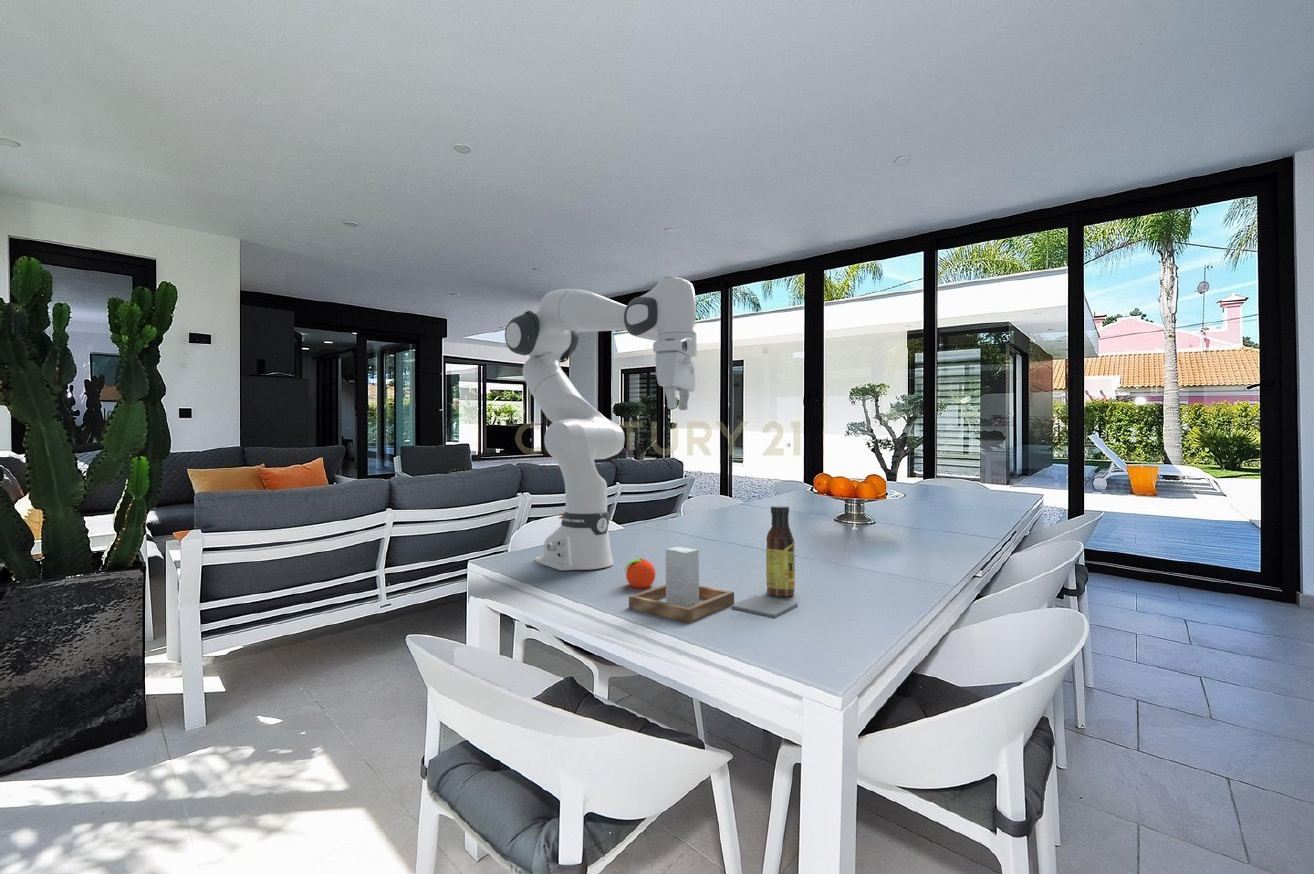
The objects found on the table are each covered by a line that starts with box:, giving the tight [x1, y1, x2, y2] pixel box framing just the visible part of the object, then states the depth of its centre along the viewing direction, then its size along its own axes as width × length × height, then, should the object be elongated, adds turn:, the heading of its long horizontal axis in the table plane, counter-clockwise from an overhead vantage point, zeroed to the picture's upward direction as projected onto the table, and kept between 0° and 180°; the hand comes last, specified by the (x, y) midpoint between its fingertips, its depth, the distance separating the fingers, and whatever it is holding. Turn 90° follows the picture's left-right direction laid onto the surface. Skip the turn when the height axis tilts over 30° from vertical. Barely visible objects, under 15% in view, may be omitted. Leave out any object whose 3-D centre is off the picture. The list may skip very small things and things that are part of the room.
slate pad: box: [730, 594, 798, 619], centre depth 123 cm, size 10×10×1 cm
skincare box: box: [665, 546, 700, 607], centre depth 124 cm, size 6×4×12 cm
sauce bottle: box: [765, 505, 796, 598], centre depth 132 cm, size 7×6×20 cm
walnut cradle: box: [628, 583, 735, 624], centre depth 124 cm, size 15×16×2 cm
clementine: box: [623, 558, 657, 589], centre depth 137 cm, size 8×7×7 cm
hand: (677, 409), depth 134 cm, fingers open, 8 cm apart
